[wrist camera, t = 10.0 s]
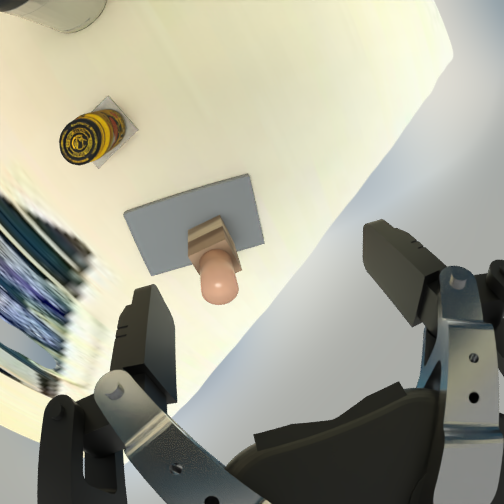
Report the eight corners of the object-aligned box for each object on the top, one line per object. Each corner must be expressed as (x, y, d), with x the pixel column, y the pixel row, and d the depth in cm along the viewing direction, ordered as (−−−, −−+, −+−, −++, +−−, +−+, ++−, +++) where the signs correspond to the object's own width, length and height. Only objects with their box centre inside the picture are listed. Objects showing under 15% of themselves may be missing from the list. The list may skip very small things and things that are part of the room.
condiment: (138, 129, 36) (118, 142, 26) (98, 168, 37) (69, 195, 27) (108, 95, 32) (77, 96, 22) (69, 136, 34) (31, 153, 24)
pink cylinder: (194, 254, 38) (196, 281, 33) (226, 245, 38) (233, 270, 33) (205, 280, 40) (208, 308, 35) (235, 271, 40) (242, 298, 35)
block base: (187, 230, 44) (187, 242, 41) (219, 214, 44) (222, 225, 41) (203, 256, 47) (205, 270, 44) (234, 242, 47) (237, 255, 44)
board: (124, 211, 42) (123, 214, 41) (247, 173, 43) (249, 175, 42) (152, 272, 48) (151, 276, 47) (262, 240, 49) (264, 243, 48)
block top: (187, 242, 41) (188, 256, 38) (222, 225, 41) (225, 239, 37) (205, 270, 44) (206, 286, 40) (237, 255, 44) (242, 270, 40)
